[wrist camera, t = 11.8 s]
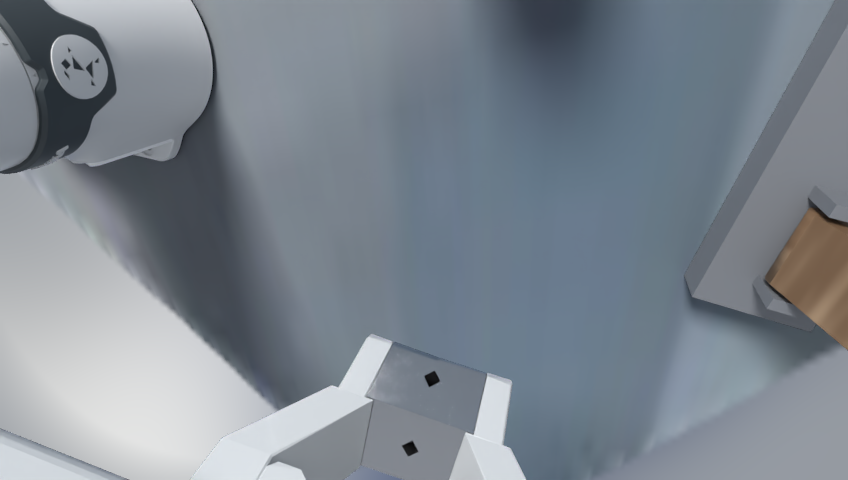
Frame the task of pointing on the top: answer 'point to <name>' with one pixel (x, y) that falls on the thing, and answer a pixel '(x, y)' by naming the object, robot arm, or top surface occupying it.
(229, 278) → the top surface
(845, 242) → the walnut lever
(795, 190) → the plinth
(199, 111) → the robot arm
